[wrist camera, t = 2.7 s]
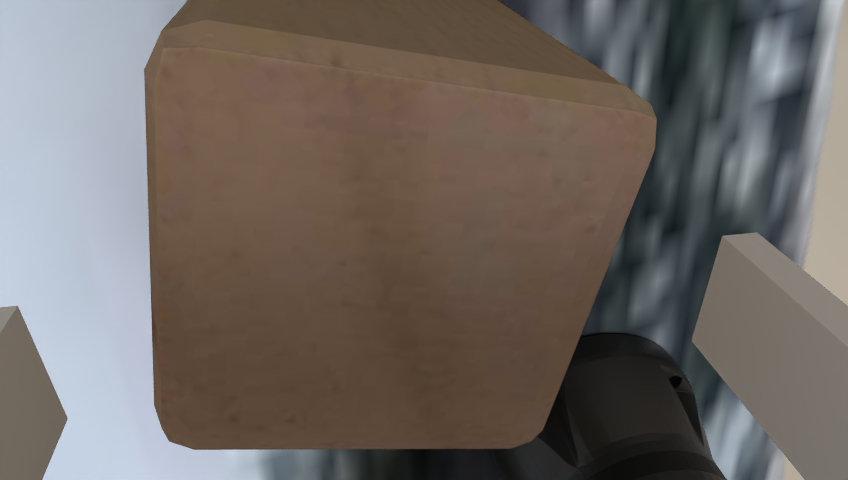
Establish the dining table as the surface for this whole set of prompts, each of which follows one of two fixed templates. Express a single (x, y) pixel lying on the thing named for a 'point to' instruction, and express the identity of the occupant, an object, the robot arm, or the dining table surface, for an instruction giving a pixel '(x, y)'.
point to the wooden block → (376, 220)
